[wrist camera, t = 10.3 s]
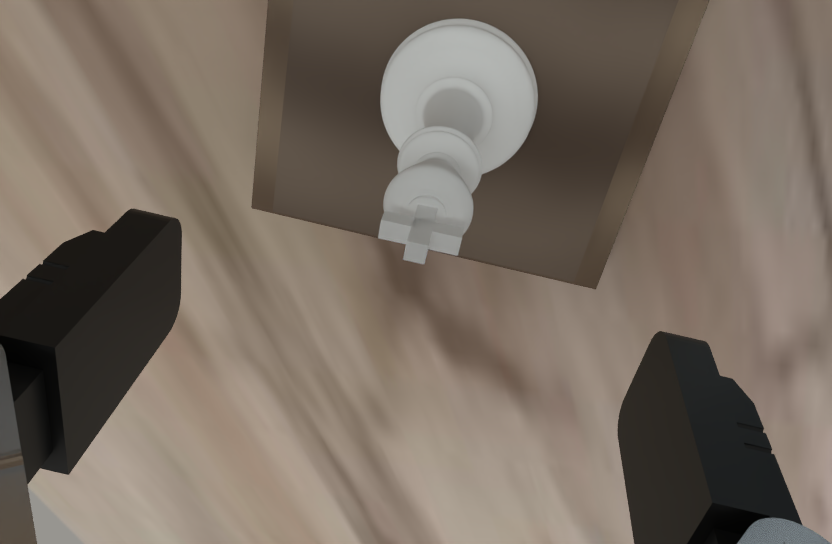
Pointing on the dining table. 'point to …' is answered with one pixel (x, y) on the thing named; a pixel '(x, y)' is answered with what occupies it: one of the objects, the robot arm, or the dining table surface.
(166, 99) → the dining table surface
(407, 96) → the chess piece
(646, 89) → the walnut pedestal
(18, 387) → the robot arm
